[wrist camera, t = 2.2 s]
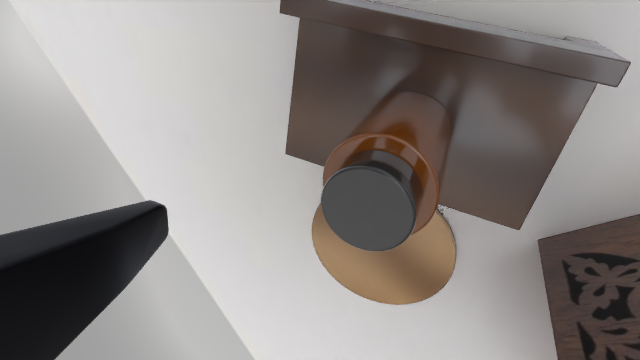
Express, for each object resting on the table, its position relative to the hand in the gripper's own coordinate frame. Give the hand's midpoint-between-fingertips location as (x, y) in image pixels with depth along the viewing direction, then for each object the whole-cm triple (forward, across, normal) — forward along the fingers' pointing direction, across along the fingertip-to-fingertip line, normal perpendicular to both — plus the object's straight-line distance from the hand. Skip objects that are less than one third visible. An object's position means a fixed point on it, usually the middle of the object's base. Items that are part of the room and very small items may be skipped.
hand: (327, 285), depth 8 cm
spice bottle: (+10, 0, 0) cm, 11 cm away
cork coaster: (+13, 0, +9) cm, 16 cm away
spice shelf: (+13, 0, -1) cm, 13 cm away
